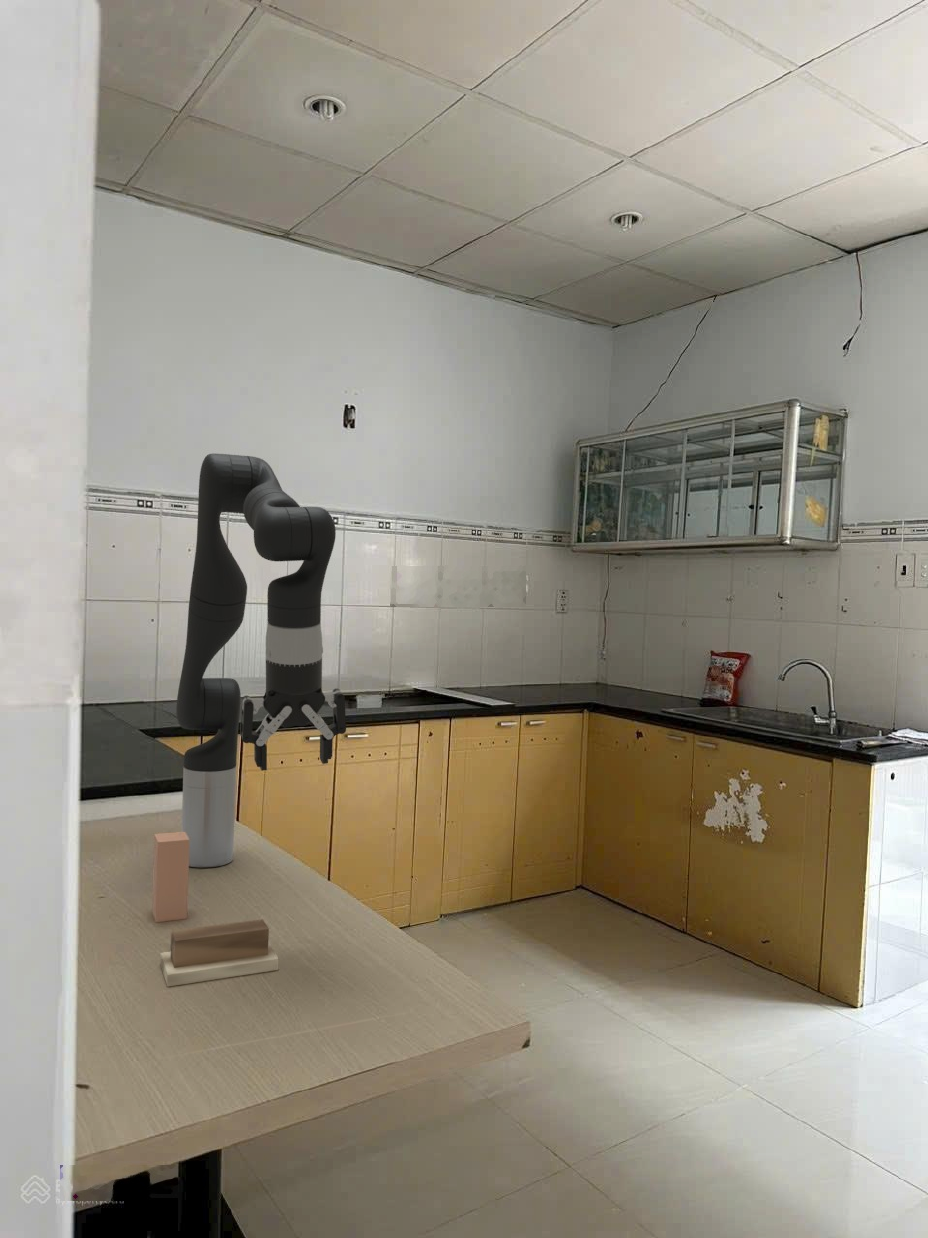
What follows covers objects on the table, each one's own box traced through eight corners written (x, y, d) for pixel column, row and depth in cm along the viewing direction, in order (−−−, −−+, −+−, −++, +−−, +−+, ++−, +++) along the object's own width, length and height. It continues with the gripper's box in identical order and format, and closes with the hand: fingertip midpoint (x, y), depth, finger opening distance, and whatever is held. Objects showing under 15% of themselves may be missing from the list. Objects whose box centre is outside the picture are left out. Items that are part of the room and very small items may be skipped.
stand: (160, 964, 117) (161, 926, 117) (265, 949, 123) (267, 913, 123) (167, 986, 110) (168, 947, 110) (278, 970, 117) (279, 932, 116)
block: (151, 911, 135) (154, 834, 134) (182, 908, 137) (185, 831, 136) (155, 922, 131) (158, 842, 130) (186, 918, 133) (189, 839, 132)
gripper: (338, 643, 125) (337, 749, 130) (236, 649, 120) (237, 760, 124) (352, 659, 119) (350, 770, 123) (244, 665, 114) (245, 782, 118)
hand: (293, 765), depth 124 cm, fingers open, 8 cm apart
